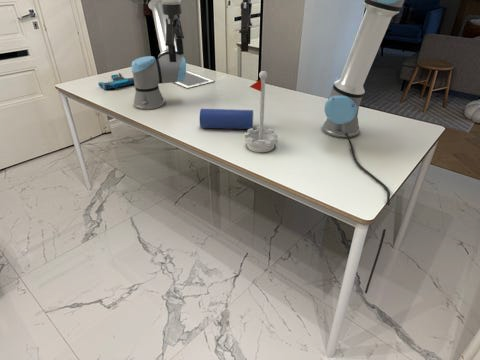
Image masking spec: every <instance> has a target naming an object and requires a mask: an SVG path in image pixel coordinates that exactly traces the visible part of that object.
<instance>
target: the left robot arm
mask: <svg viewBox="0 0 480 360" xmlns="http://www.w3.org/2000/svg"><path fill="white" fill-rule="evenodd" d="M128 1H129V2H132V3H134V4H139V5H147V7H148V8H149V10H151V12H152V18H153V21H154V26H155V32H156V38H157V41H158V48H159V51H160V53H159V54H158V56H157V59H156V58H155V56H152V55H150V56H149V55H146V56H140V57H138V58H135V59H134V60H133V61H132V62H131V63H130V64H131V73H132V78H134V83H133V84H132V85H134V88H135V93H134V100H133V105H134V108H136V109H138V110H155V109H159V108H161V107H163V106H164V105H165V99H164V97H163V94H162V92H161V90H160V86H159V84H160V85H161V84H170V83H171V84H172V83H173V82H180V81H184V80H185V78H186V71H187V61H186V58H185V56H182V55H184V53H185V51H184V42H183V39H185V35H184V32H183V26H182V22H181V14H182V13H183V11H182V4H181V2H182V0H128ZM175 37H176V38H175ZM118 76H119V77H121V78H123V79H124V78H125V77H123V76H122V74H121V73H120V72H118Z"/></svg>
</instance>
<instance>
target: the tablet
mask: <svg viewBox="0 0 480 360" xmlns="http://www.w3.org/2000/svg"><path fill="white" fill-rule="evenodd" d="M214 82H215V80H213V79H210V78H207V77H204V76H202V75H199V74H197V73H194V72H192V71H188V70H186V78H185V80H184V81H180V82H172V83H174V84H176V85H178V86H181V87H183V88H185V89H191V88H195V87H198V86H203V85H207V84H211V83H214Z"/></svg>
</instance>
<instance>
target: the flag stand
mask: <svg viewBox="0 0 480 360" xmlns="http://www.w3.org/2000/svg"><path fill="white" fill-rule="evenodd" d="M258 77H259V80H257V81H256V82H254V83H253V84H251V85H250V86H249V88H251V89H254V90H256V91H257V92H260V94H259V96H260V97H259V99H260V100H259V125H258V126H257V129H254V128H251V129H246V130H247V132H244V142H245V143H246V147H247V148H248V150H250V151H251V152H255V153H266V152H267V153H268V152H271V151H273V150H274V149H275V145H276V143H277V142H278V132H275V129H273V128H268V129H265V127H264V118H265V117H264V116H265V94H266V93H265V92H266V79H267V78H268V72H267V71H265V70H261V71H260V72H259V74H258Z"/></svg>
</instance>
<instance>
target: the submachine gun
mask: <svg viewBox="0 0 480 360" xmlns="http://www.w3.org/2000/svg"><path fill="white" fill-rule="evenodd" d="M110 77H111V79H112V80H111V81H108V82H102V81H100V82H98V83H97V84H98V86H99V87H100V88H102V89H103V90H110V89H116V90H117V89H118V88H120V87H123V86H128V85H134V84H133V83H134V78H133V77H129V78H126V77H123V78H124V79H123V78H121V77H120V76H119V74H112V75H110Z"/></svg>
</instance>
